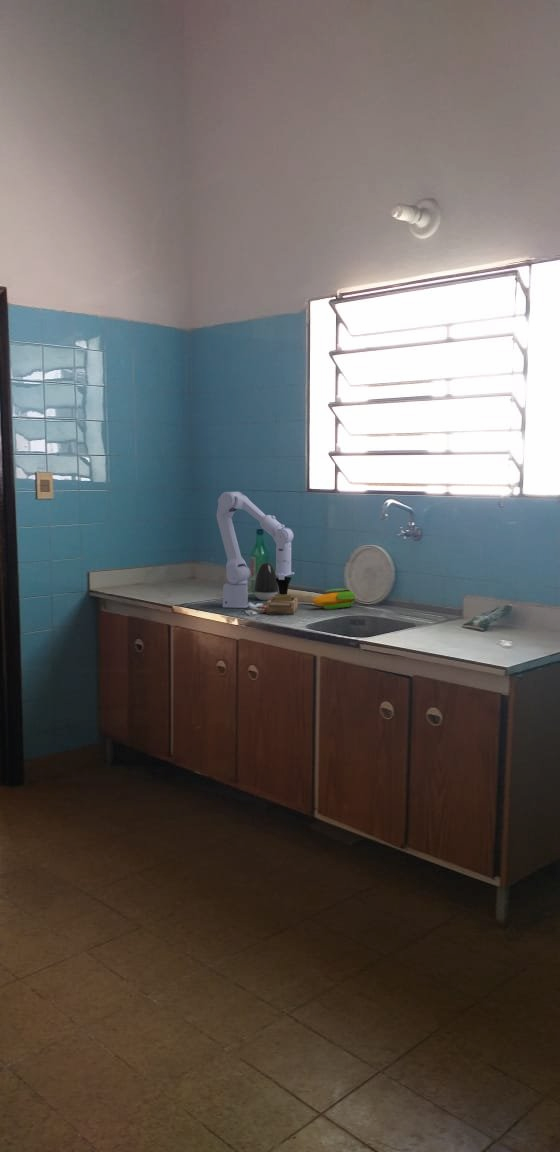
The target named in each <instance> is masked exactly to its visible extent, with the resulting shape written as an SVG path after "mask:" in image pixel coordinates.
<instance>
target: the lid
mask: <svg viewBox="0 0 560 1152" xmlns="http://www.w3.org/2000/svg"><path fill="white" fill-rule="evenodd" d="M291 597H292V594H287V595H286V594H280V593H278V594H275V600H273V601H272V602H271V603H270V605H269V607H290V606H291V602H292V601H293V600H291Z"/></svg>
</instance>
